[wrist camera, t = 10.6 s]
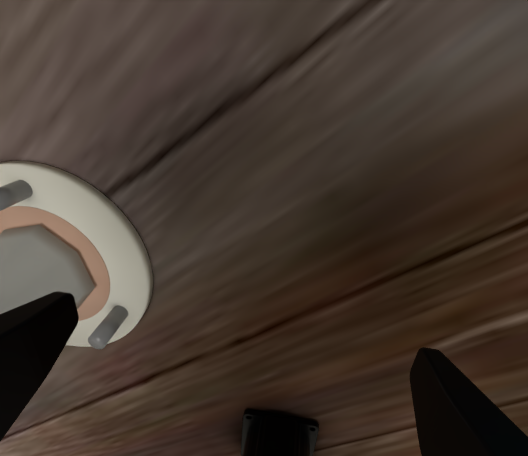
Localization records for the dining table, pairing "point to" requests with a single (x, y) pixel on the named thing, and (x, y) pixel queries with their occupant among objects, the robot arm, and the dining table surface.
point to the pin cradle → (83, 244)
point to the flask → (38, 268)
